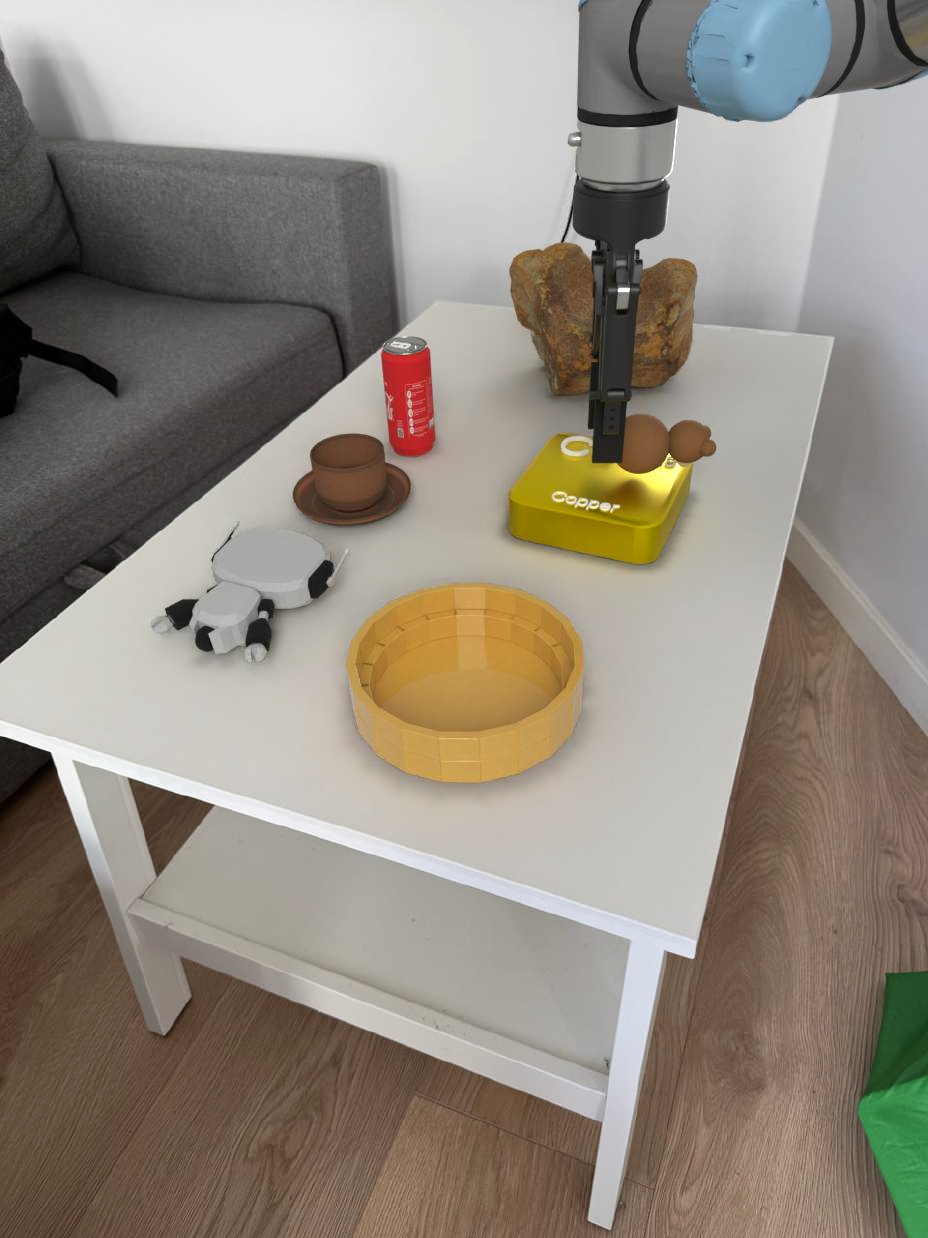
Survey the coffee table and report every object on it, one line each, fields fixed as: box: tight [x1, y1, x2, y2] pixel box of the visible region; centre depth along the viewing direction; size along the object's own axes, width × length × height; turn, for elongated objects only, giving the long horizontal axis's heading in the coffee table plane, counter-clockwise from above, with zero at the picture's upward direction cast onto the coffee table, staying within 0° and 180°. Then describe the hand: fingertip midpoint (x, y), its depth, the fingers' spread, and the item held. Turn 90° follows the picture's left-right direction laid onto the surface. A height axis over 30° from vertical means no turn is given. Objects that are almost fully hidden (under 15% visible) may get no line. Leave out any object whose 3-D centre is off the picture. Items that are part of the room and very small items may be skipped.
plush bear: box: [617, 413, 717, 474], centre depth 86 cm, size 6×6×10 cm
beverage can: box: [380, 335, 436, 458], centre depth 99 cm, size 5×5×12 cm
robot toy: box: [150, 520, 351, 663], centre depth 79 cm, size 12×4×15 cm
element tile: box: [507, 432, 694, 565], centre depth 89 cm, size 15×15×5 cm
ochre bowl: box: [345, 582, 585, 784], centre depth 69 cm, size 17×17×5 cm
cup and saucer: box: [292, 432, 412, 526], centre depth 92 cm, size 12×12×6 cm
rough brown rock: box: [508, 241, 698, 397], centre depth 110 cm, size 23×17×15 cm
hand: (604, 443), depth 86 cm, fingers open, 6 cm apart
